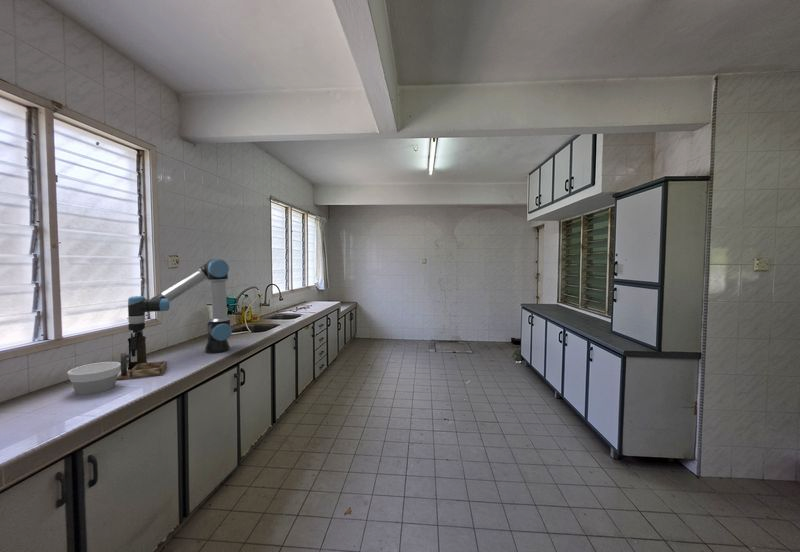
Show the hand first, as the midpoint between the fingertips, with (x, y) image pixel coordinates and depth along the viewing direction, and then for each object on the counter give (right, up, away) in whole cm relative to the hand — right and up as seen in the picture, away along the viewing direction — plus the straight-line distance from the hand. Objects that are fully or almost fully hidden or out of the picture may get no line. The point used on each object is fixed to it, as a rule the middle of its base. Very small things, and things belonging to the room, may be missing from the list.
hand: (137, 358), depth 190 cm
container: (0, -6, 0) cm, 6 cm away
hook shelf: (+11, -6, -9) cm, 16 cm away
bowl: (+5, -7, -31) cm, 32 cm away
